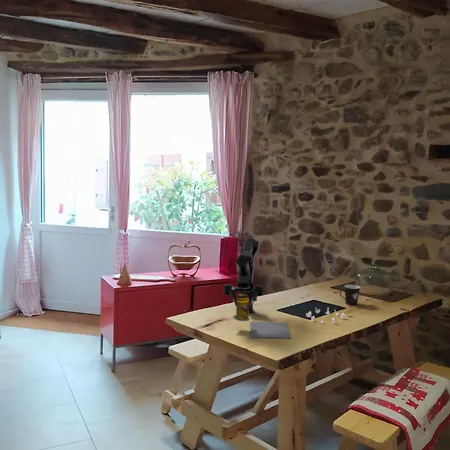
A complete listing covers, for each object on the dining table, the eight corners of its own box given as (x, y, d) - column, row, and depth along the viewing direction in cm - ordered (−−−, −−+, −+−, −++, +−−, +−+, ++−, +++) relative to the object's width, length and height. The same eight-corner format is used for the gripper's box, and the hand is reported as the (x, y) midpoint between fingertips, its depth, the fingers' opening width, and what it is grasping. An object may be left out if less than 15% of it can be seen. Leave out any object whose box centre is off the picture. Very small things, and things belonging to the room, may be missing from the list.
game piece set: (346, 315, 275) (346, 308, 274) (341, 326, 256) (342, 319, 256) (310, 311, 281) (310, 304, 281) (302, 322, 263) (302, 314, 262)
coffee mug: (357, 302, 300) (358, 285, 298) (360, 306, 291) (361, 288, 290) (337, 301, 301) (338, 284, 300) (339, 305, 292) (340, 287, 291)
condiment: (248, 321, 243) (248, 296, 241) (230, 320, 245) (230, 295, 243) (250, 316, 250) (251, 292, 248) (233, 315, 252) (233, 291, 250)
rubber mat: (250, 322, 259) (250, 321, 259) (286, 323, 258) (286, 322, 258) (251, 337, 237) (251, 336, 237) (290, 339, 236) (290, 337, 236)
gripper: (224, 268, 248) (222, 297, 239) (263, 269, 247) (262, 298, 238) (224, 280, 257) (223, 308, 248) (262, 281, 256) (262, 309, 247)
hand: (242, 305), depth 245 cm, fingers closed on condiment, 6 cm apart
